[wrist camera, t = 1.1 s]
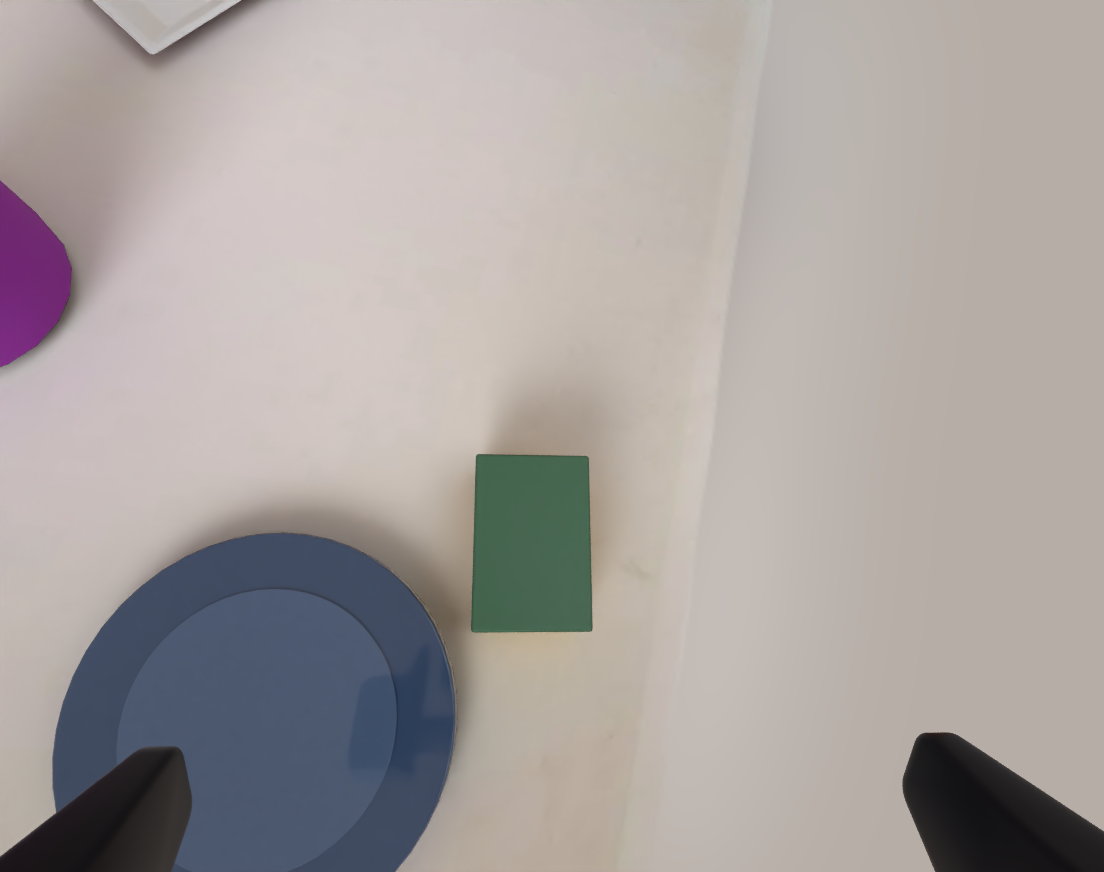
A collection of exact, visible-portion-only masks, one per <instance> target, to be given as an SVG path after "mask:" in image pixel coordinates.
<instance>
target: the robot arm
mask: <svg viewBox="0 0 1104 872" xmlns="http://www.w3.org/2000/svg"><path fill="white" fill-rule="evenodd" d="M903 794H904V797H905V801H906V803H907V806H908V808H909V811H910V813H911V815H912V817H913V820H914V822H915V825H916V827H917V830H918V832H919V834H920V837H921V839H922V841H923V844H924V846H925V849H926V851H927V853H928V855H929V858H930V860H931V863H932V865H933V867H934V870H935V872H1104V831H1102V830H1101V829H1099V828H1098V827H1096V826H1095V825H1093V824H1092V823H1090V822H1089V821H1087V820H1086V819H1084V818H1082V817H1081V816H1079V815H1078V814H1076V813H1075V812H1073V811H1072V810H1070V809H1069V808H1067V807H1066V806H1064V805H1063V804H1061V803H1060V802H1058V801H1057V800H1055V799H1054V798H1052V797H1051V796H1049V795H1048V794H1046V793H1045V792H1043V791H1041V790H1040V789H1039V788H1037V787H1035V786H1034V785H1032V784H1031V783H1030V782H1028V781H1026V780H1025V779H1023V778H1022V777H1020V776H1019V775H1017V774H1016V773H1014V772H1013V771H1011V770H1010V769H1008V768H1007V767H1005V766H1004V765H1002V764H1001V763H999V762H998V761H996V760H995V759H993V758H992V757H990V756H989V755H987V754H986V753H984V752H982V751H981V750H980V749H978V748H976V747H975V746H973V745H972V744H970V743H969V742H967V741H966V740H964V739H963V738H961V737H960V736H958V735H956V734H953V733H923V734H921V735H919V736H918V737H917V738H916V741H915V743H914V746H913V749H912V753H911V756H910V758H909V761H908V764H907V767H906V770H905V773H904V776H903ZM191 809H192V793H191V788H190V784H189V779H188V774H187V769H186V765H185V760H184V756H183V753H182V751H181V750H180V749H179V748H178V747H175V746H151V747H143V748H141V749H139V750H137V751H135V752H134V753H132V754H131V755H130V756H128V757H127V758H126V759H125V760H123V761H122V762H121V763H119V764H118V765H117V766H116V767H114V768H113V769H112V770H110V771H109V772H108V773H107V774H105V775H104V776H103V777H102V778H100V779H99V780H98V781H96V782H95V783H94V784H93V785H91V786H90V787H89V788H87V789H86V790H85V791H84V792H82V793H81V794H80V795H78V796H77V797H76V798H75V799H73V800H72V801H71V802H70V803H68V804H67V805H66V806H64V807H63V808H62V809H61V810H59V811H58V812H57V813H55V814H54V815H53V816H52V817H50V818H49V819H48V820H46V821H45V822H44V823H43V824H41V825H40V826H39V827H38V828H36V829H35V830H34V831H32V832H31V833H30V834H29V835H27V836H26V837H25V838H23V839H22V840H21V841H20V842H18V843H17V844H16V845H14V846H13V847H12V848H11V849H9V850H8V851H7V852H6V853H4V854H3V855H2V856H0V872H172V869H173V866H174V863H175V860H176V857H177V854H178V851H179V848H180V845H181V842H182V839H183V837H184V834H185V831H186V828H187V825H188V822H189V818H190V814H191Z"/></svg>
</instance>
